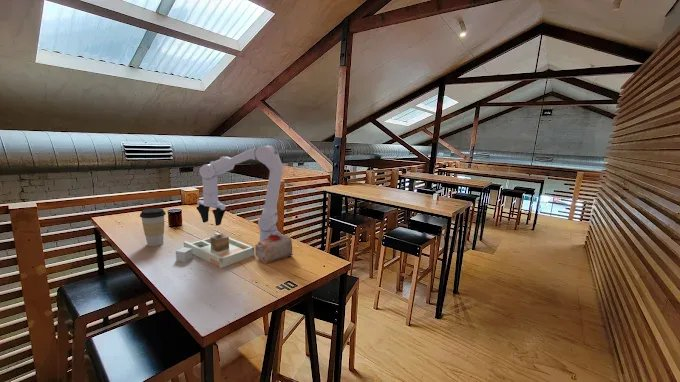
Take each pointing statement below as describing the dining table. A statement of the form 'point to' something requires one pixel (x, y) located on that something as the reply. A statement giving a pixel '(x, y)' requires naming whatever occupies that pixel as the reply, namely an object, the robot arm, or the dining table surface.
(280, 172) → the robot arm
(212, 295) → the dining table surface
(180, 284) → the dining table surface
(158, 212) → the coffee cup
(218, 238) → the walnut block
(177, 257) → the grey block
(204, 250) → the tray
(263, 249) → the grey-brown rough block
